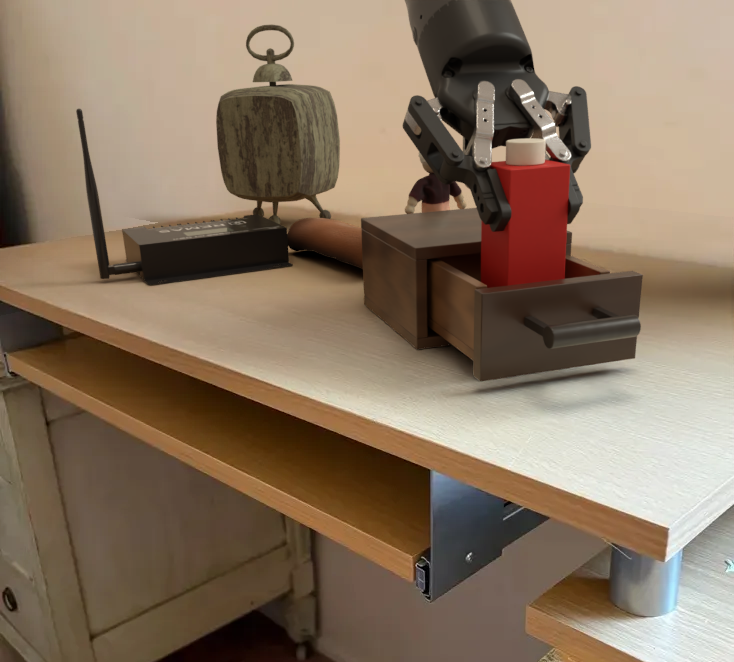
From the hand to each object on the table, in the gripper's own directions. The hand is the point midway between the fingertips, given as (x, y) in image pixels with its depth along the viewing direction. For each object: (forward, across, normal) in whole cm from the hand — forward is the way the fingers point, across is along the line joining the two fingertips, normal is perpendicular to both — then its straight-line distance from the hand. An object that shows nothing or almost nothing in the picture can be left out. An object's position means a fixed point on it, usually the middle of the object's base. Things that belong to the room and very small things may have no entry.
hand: (536, 220), depth 56 cm
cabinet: (-2, 0, +16) cm, 16 cm away
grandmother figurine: (-17, +6, +31) cm, 36 cm away
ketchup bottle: (+3, 0, +6) cm, 7 cm away
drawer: (+7, 0, +6) cm, 9 cm away
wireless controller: (-23, -20, +38) cm, 49 cm away
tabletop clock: (-37, -5, +52) cm, 64 cm away
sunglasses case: (-19, -2, +33) cm, 38 cm away
